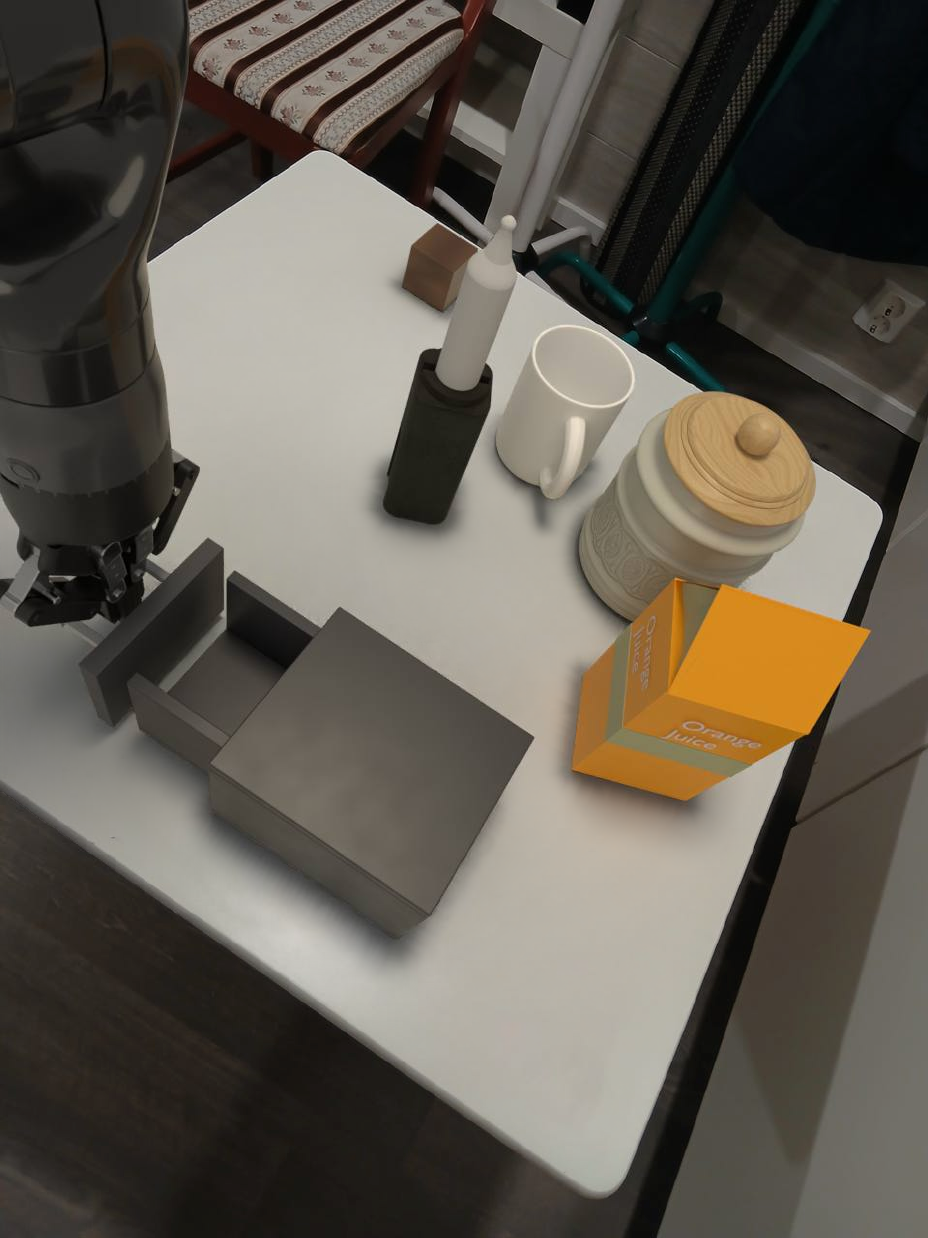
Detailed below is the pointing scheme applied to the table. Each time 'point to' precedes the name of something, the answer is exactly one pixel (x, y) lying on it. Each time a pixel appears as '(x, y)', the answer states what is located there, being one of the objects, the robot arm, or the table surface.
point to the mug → (563, 406)
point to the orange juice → (707, 688)
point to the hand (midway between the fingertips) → (120, 608)
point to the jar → (697, 501)
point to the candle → (452, 391)
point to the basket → (218, 680)
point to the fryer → (367, 773)
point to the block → (437, 266)
